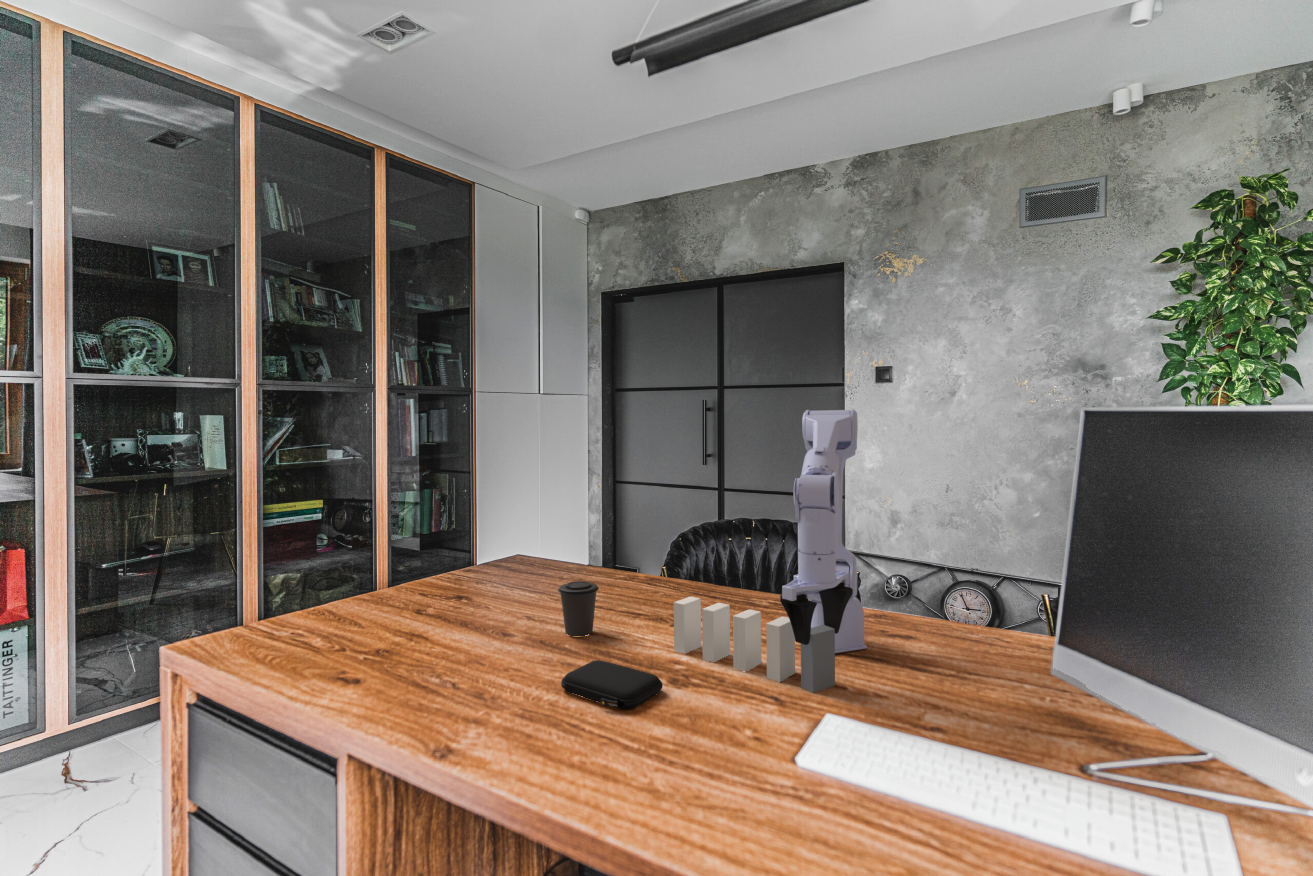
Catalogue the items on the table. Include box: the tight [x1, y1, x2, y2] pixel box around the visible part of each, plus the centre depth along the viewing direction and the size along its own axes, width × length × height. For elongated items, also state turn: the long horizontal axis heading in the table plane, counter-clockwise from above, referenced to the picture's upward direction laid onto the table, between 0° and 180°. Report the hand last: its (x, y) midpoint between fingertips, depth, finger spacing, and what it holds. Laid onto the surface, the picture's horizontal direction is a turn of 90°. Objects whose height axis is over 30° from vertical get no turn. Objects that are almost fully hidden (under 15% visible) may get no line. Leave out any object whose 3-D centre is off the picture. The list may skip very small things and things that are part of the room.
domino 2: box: [701, 602, 731, 663], centre depth 111 cm, size 2×5×9 cm, turn 139°
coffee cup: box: [557, 580, 599, 636], centre depth 125 cm, size 8×8×10 cm
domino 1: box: [673, 595, 702, 655], centre depth 116 cm, size 2×5×9 cm, turn 139°
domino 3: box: [732, 608, 762, 673], centre depth 107 cm, size 2×5×9 cm, turn 139°
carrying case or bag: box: [560, 659, 663, 711], centre depth 97 cm, size 11×3×15 cm
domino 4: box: [765, 615, 796, 683], centre depth 103 cm, size 2×5×9 cm, turn 139°
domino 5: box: [800, 625, 836, 694], centre depth 98 cm, size 2×5×9 cm, turn 123°
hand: (817, 637), depth 98 cm, fingers open, 7 cm apart
